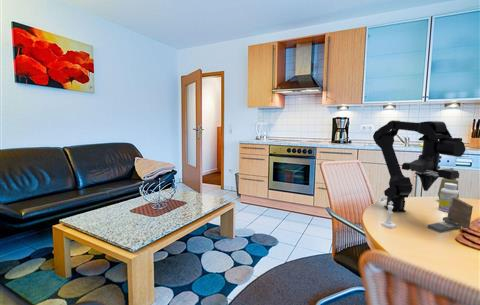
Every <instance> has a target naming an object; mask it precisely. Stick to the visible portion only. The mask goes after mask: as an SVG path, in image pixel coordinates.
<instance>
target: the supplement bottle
mask: <svg viewBox="0 0 480 305" xmlns="http://www.w3.org/2000/svg"><path fill="white" fill-rule="evenodd" d="M444 186H445V187H444V188H442V189H441V192H440V200H439V199H438V210H440V211H442V212H445V213H448V211H449V204H450V198H451V196H455V197H457V198H458V199H459V198H460V191H459V189H458V190H456V188H457V186H458V187H459V184H458V185H457V184H453V183H444Z"/></svg>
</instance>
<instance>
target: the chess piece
mask: <svg viewBox="0 0 480 305" xmlns="http://www.w3.org/2000/svg"><path fill="white" fill-rule="evenodd" d="M388 204H390V205H388V209H387V210H386V213H387V217H386V220H385V221H384V220H383V221H381V223H380V224H381V226H383V227H385V228H388V229H396V224H395V223H394V222H393V221H392V214H394V211H392V209H393V206H392V204H393V203H392V201H390V203H388Z"/></svg>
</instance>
